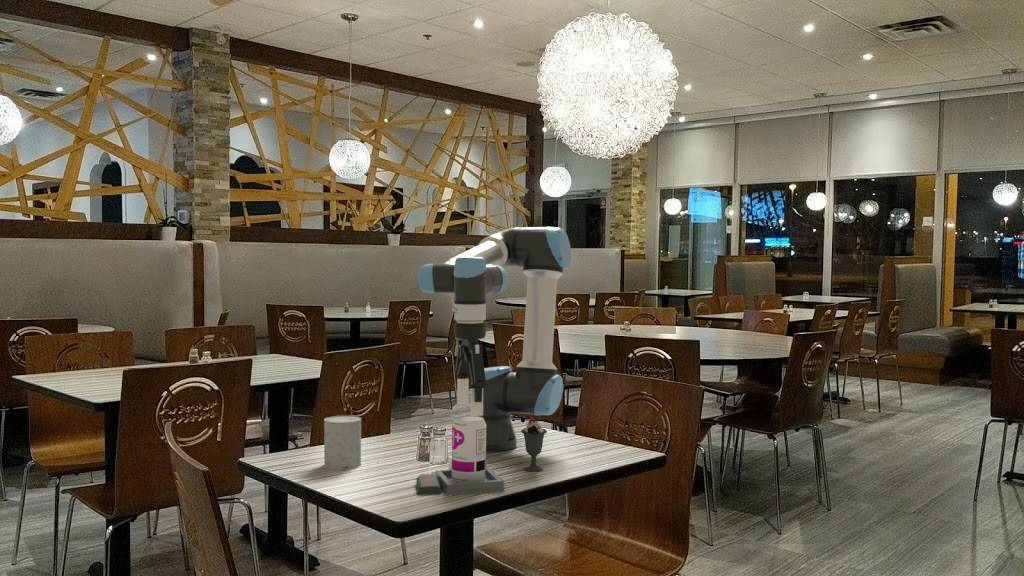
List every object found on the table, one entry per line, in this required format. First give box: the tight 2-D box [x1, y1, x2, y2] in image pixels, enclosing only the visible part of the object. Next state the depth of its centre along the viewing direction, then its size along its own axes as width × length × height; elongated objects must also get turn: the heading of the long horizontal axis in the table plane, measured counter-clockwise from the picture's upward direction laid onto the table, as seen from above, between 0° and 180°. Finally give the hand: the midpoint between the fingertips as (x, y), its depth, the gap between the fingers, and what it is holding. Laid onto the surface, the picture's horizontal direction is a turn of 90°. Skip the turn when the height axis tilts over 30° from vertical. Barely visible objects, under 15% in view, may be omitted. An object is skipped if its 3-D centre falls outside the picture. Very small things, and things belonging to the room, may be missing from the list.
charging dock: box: [430, 455, 505, 496], centre depth 197 cm, size 14×18×5 cm
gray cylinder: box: [323, 415, 362, 471], centre depth 213 cm, size 10×10×12 cm
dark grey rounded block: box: [416, 473, 442, 496], centre depth 193 cm, size 5×12×3 cm, turn 9°
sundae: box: [520, 411, 548, 473], centre depth 211 cm, size 7×7×15 cm
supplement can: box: [451, 415, 487, 483], centre depth 195 cm, size 8×8×15 cm
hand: (469, 410), depth 195 cm, fingers open, 13 cm apart
